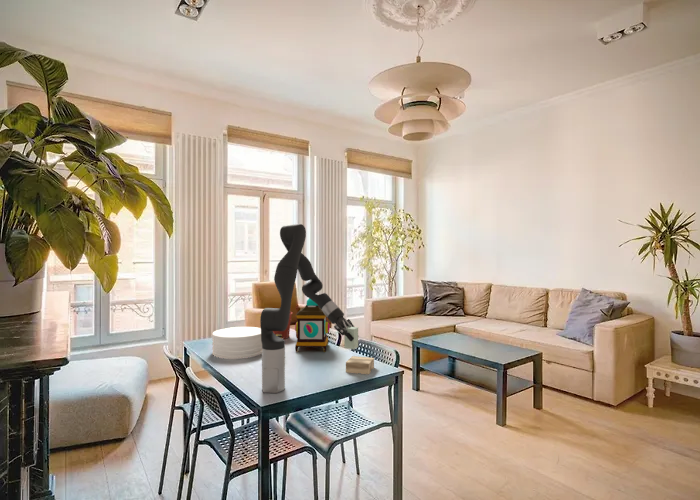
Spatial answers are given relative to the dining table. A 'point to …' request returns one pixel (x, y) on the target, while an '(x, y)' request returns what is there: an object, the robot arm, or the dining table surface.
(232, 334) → the plate stack
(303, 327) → the decorative lantern
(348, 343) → the sage pillar
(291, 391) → the dining table surface
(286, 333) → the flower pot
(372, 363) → the oak block
